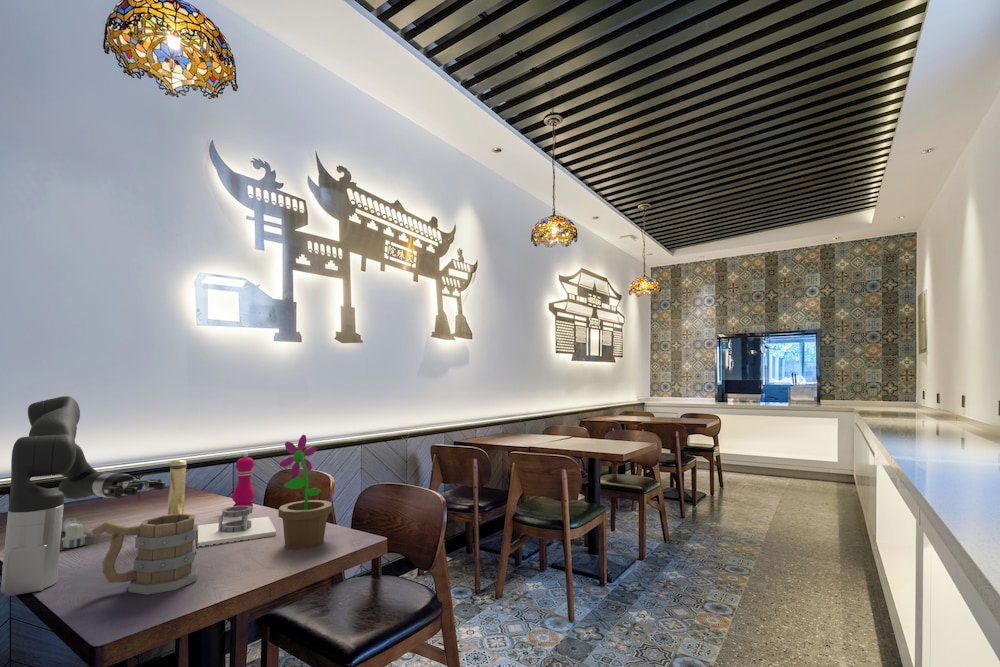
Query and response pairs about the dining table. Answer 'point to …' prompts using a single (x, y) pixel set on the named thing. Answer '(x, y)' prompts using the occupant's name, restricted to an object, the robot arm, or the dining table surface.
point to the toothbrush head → (73, 533)
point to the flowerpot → (303, 503)
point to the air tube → (177, 487)
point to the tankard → (154, 553)
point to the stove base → (235, 527)
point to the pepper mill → (244, 482)
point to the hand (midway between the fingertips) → (150, 488)
